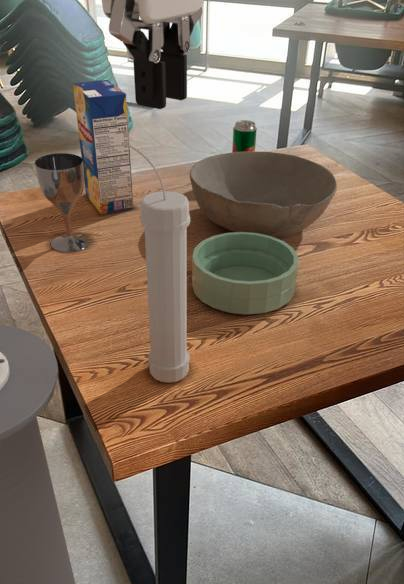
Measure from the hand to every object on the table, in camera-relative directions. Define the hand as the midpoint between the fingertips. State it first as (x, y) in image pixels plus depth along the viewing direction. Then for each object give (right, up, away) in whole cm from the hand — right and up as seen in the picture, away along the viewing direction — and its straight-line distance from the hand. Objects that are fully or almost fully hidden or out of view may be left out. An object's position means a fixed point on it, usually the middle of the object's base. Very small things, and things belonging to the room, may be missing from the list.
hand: (161, 100), depth 56 cm
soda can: (+13, +16, +75) cm, 78 cm away
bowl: (+15, +2, +58) cm, 60 cm away
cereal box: (-16, +8, +64) cm, 66 cm away
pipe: (-1, -27, +21) cm, 34 cm away
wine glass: (-20, -4, +49) cm, 54 cm away
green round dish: (+11, -14, +38) cm, 42 cm away
